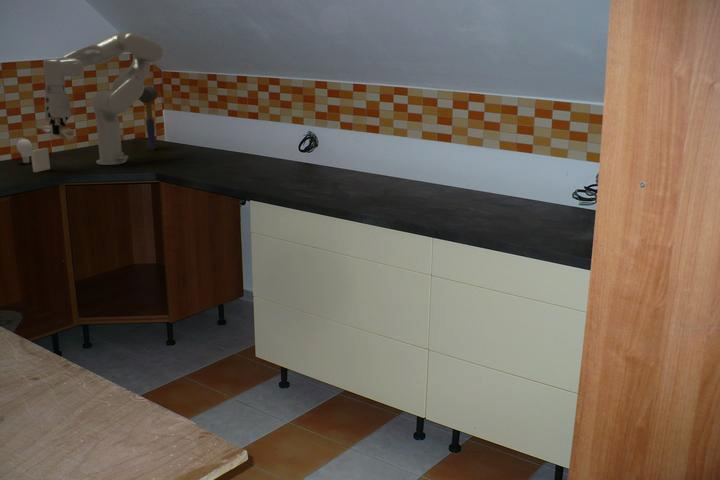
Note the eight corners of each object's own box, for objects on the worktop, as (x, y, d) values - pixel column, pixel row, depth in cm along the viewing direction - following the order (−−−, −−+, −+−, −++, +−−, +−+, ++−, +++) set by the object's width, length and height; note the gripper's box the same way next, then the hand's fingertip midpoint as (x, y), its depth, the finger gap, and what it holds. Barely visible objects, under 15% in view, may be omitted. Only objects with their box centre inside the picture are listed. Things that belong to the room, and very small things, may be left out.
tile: (50, 168, 348) (47, 147, 346) (36, 172, 341) (33, 151, 339) (47, 168, 349) (44, 147, 347) (32, 171, 342) (30, 150, 340)
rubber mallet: (147, 147, 399) (142, 85, 391) (162, 147, 399) (158, 85, 391) (141, 151, 387) (136, 88, 379) (157, 151, 387) (152, 87, 379)
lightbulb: (27, 161, 364) (24, 137, 361) (37, 162, 361) (34, 138, 358) (15, 163, 359) (12, 139, 356) (24, 165, 356) (21, 140, 353)
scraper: (75, 138, 342) (76, 129, 340) (65, 140, 337) (65, 131, 335) (48, 126, 348) (49, 117, 346) (37, 128, 342) (38, 119, 341)
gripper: (46, 91, 328) (50, 137, 333) (77, 88, 342) (80, 132, 347) (33, 90, 331) (37, 135, 336) (63, 87, 345) (67, 131, 350)
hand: (59, 133), depth 341 cm, fingers closed on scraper, 2 cm apart
